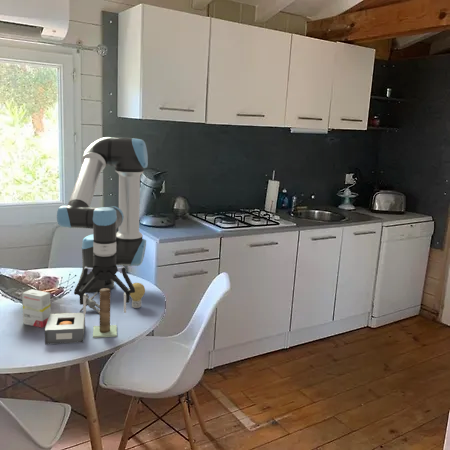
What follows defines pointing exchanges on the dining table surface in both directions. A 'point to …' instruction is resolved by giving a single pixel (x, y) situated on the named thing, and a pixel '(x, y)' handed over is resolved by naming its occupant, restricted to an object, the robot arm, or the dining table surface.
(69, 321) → the button
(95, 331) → the mat
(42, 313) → the ink box
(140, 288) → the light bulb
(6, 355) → the dining table surface
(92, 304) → the elephant figurine
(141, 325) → the dining table surface
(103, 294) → the walnut dowel
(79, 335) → the grey square holder
